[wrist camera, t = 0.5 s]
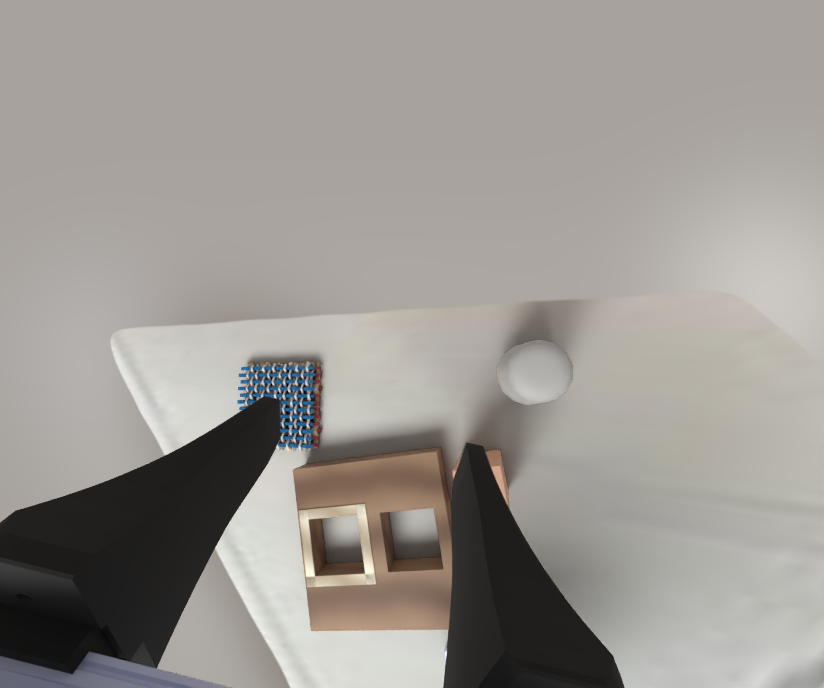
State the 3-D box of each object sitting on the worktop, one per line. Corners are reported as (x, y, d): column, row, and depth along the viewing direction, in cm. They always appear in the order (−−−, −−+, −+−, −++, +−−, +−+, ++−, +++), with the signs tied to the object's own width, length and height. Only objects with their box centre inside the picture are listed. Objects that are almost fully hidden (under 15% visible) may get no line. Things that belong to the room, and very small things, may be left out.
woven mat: (324, 451, 41) (315, 454, 39) (245, 447, 43) (233, 450, 41) (326, 361, 42) (317, 360, 40) (249, 362, 44) (237, 361, 42)
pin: (508, 490, 35) (510, 516, 28) (468, 494, 36) (460, 521, 29) (500, 449, 35) (500, 465, 29) (461, 454, 36) (452, 471, 30)
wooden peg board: (468, 611, 35) (466, 630, 32) (323, 614, 38) (310, 631, 36) (440, 446, 37) (436, 451, 34) (305, 464, 40) (292, 470, 38)
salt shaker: (539, 413, 35) (561, 433, 22) (487, 385, 36) (480, 388, 24) (567, 362, 35) (606, 352, 22) (514, 335, 36) (521, 312, 24)
